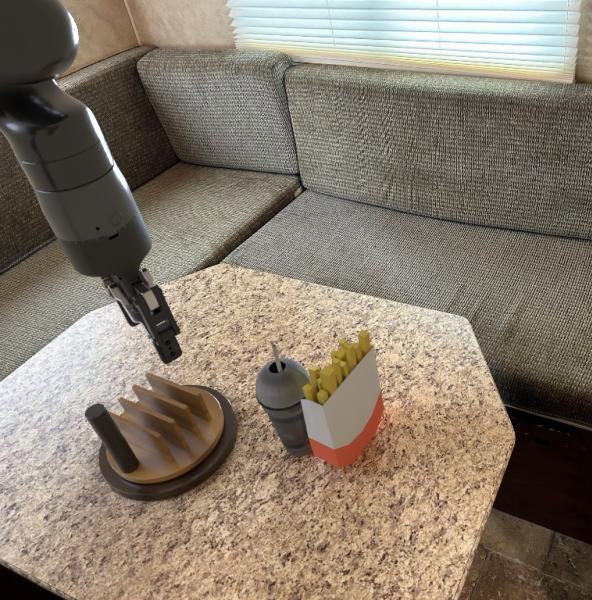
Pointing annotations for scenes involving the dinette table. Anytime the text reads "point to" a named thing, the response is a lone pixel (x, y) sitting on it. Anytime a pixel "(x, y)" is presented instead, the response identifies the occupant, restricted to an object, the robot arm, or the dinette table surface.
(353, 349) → the french fries container
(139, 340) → the dinette table surface
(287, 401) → the beverage cup
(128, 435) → the plate rack
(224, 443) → the base
